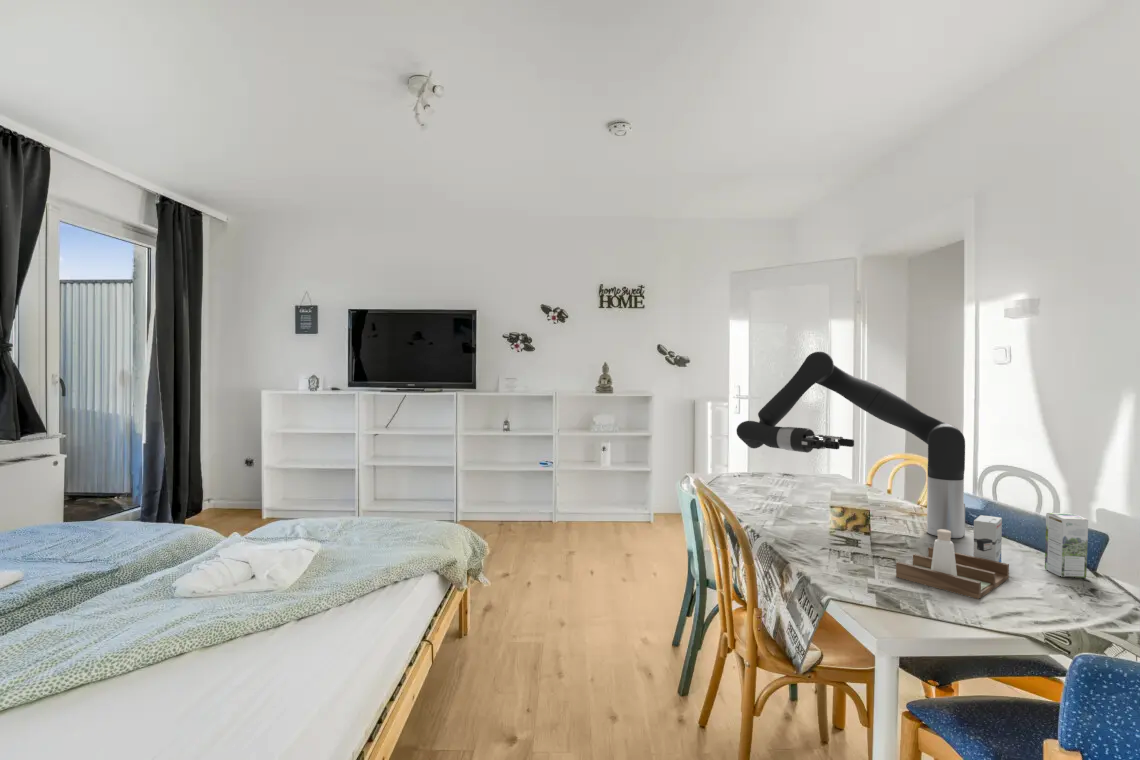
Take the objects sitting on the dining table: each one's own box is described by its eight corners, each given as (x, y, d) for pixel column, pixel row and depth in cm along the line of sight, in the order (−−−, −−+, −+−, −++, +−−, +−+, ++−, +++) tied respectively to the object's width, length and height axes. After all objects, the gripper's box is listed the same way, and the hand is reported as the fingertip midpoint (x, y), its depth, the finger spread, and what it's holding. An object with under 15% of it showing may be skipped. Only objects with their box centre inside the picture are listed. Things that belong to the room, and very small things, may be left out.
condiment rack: (930, 560, 151) (930, 546, 151) (1008, 578, 137) (1008, 564, 137) (896, 576, 139) (896, 562, 139) (978, 599, 125) (978, 583, 125)
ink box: (979, 558, 152) (979, 514, 152) (1002, 562, 149) (1002, 517, 149) (972, 565, 146) (972, 519, 146) (995, 570, 143) (996, 523, 143)
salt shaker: (946, 572, 138) (946, 527, 138) (963, 581, 133) (963, 533, 132) (924, 573, 138) (925, 527, 138) (940, 581, 132) (941, 534, 132)
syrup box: (1068, 570, 143) (1069, 512, 143) (1087, 578, 137) (1088, 518, 137) (1044, 569, 144) (1044, 511, 143) (1061, 578, 138) (1062, 517, 137)
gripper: (782, 428, 177) (834, 433, 165) (807, 426, 186) (858, 430, 173) (782, 453, 178) (833, 459, 165) (807, 449, 186) (858, 454, 173)
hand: (846, 444), depth 169 cm, fingers open, 8 cm apart
